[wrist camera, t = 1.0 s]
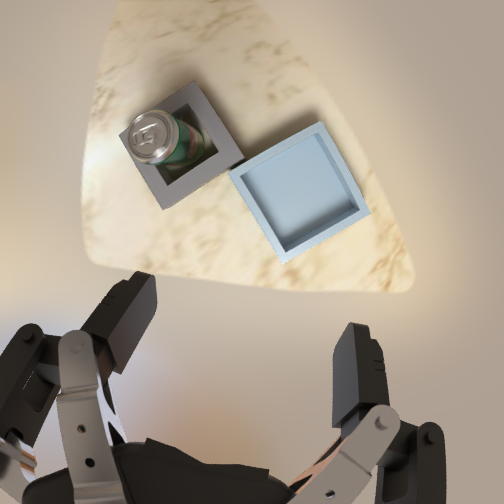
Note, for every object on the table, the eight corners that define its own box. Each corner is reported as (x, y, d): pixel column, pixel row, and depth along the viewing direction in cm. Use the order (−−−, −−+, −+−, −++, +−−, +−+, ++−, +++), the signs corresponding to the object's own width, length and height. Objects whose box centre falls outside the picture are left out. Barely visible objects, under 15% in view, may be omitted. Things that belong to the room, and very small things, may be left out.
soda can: (208, 161, 33) (181, 156, 21) (169, 170, 33) (127, 171, 22) (201, 122, 32) (171, 99, 20) (162, 132, 32) (119, 117, 20)
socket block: (130, 137, 32) (118, 135, 29) (200, 88, 30) (194, 80, 27) (171, 206, 35) (162, 210, 31) (245, 159, 33) (244, 157, 29)
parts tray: (230, 173, 33) (227, 173, 30) (315, 125, 31) (321, 120, 28) (280, 255, 36) (282, 264, 33) (360, 209, 34) (370, 213, 31)
